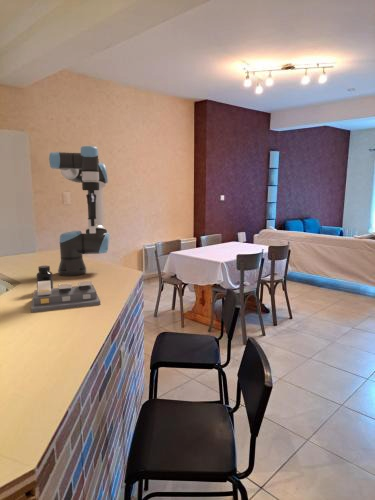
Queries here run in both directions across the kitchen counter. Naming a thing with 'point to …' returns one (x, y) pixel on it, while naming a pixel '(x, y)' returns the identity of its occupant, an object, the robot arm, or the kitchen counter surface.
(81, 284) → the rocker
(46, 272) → the supplement bottle
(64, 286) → the rocker
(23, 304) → the kitchen counter surface
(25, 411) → the kitchen counter surface
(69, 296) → the switch unit
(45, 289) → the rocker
